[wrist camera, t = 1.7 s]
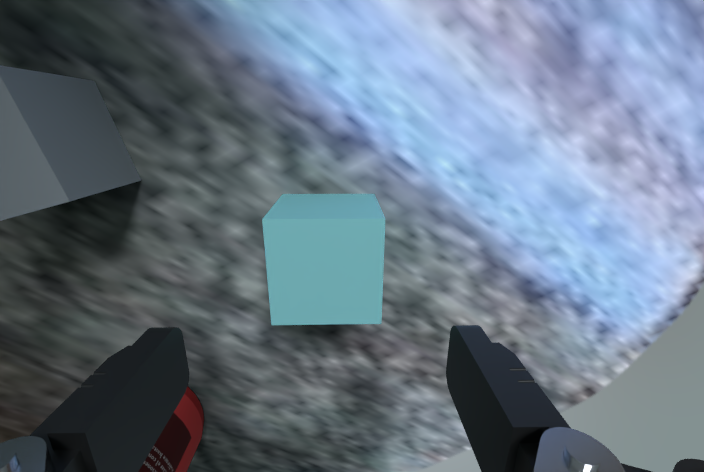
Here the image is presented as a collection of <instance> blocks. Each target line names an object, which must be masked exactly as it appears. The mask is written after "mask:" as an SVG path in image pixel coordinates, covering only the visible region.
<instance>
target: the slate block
mask: <svg viewBox="0 0 704 472" xmlns="http://www.w3.org/2000/svg"><path fill="white" fill-rule="evenodd" d="M138 181H141V178H140V176H139V174H138V172H137V170H136V168H135V166H134V164H133V161H132V159H131V157H130V155H129V153H128V151H127V149H126V147H125V144H124V142H123V140H122V138H121V136H120V134H119V132H118V130H117V128H116V125H115V123H114V121H113V119H112V117H111V115H110V113H109V111H108V108H107V106H106V104H105V102H104V100H103V98H102V96H101V94H100V92H99V89H98V87H97V85H96V83H95V81H93V80H87V79H81V78H75V77H69V76H63V75H57V74H51V73H44V72H38V71H32V70H26V69H20V68H14V67H8V66H1V65H0V221H1V220H5V219H8V218H12V217H16V216H19V215H23V214H26V213H30V212H34V211H37V210H41V209H45V208H48V207H52V206H55V205H59V204H63V203H66V202H70V201H73V200H77V199H80V198H83V197H87V196H90V195H94V194H97V193H100V192H104V191H107V190H111V189H114V188H117V187H121V186H124V185H128V184H131V183H134V182H138Z"/></svg>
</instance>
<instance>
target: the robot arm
mask: <svg viewBox="0 0 704 472" xmlns="http://www.w3.org/2000/svg"><path fill="white" fill-rule="evenodd" d="M446 377H447V384H448V388H449V391H450V394H451V397H452V399H453V402H454V404H455V407H456V409H457V412H458V414H459V417H460V419H461V422H462V424H463V427H464V429H465V432H466V434H467V437H468V439H469V441H470V444H471V446H472V449H473V451H474V454H475V456H476V459H477V461H478V464H479V466H480V469H481V471H482V472H651V471H648V470H644V469H640V468H636V467H632V466H628V465H625V464H622V463H620V461H619V460H618V459H617V457H616V456H615V455H614V454H613V453H612V452H611V451H610V450H609V449H608V448H607V447H605V446H604V445H603V444H602V443H600V442H599V441H597V440H596V439H594V438H593V437H591V436H589V435H587V434H585V433H583V432H580V431H578V430H574V429H571V428H570V427H569V425H568V424H567V423H566V421H565V420H564V419H563V418H562V416H561V415H560V413H559V412H558V411H557V409H556V408H555V407H554V405H553V404H552V403H551V401H550V400H549V399H548V397H547V396H546V395H545V393H544V392H543V391H542V389H541V388H540V387H539V385H538V384H537V383H535V382H534V379H533V377H532V376H531V375H530V374H529V372H528V371H526V370H525V367H524V366H523V364H522V363H521V362H520V360H519V359H518V358H517V356H516V355H515V354H514V353H513V352H511V351H510V350H508V349H507V348H506V347H504V346H503V345H502V344H500V343H491V341H490V340H489V338H488V337H487V335H486V334H485V332H484V331H483V329H482V328H481V327H480V326H478V325H472V326H453V327H452V328H451V332H450V341H449V349H448V358H447V367H446ZM188 381H189V368H188V363H187V357H186V351H185V346H184V340H183V335H182V331H181V330H180V329H179V328H149V329H148V330H147V331H146V332H145V333H144V334H143V335H142V336H141V337H140V338H139V339H138V340H137V341H136V342H135V343H134V344H133V345H132V346H127V347H125V348H124V349H122V350H121V351H119V352H117V353H116V354H114V355H112V356H111V357H109V358H108V359H107V360H106V361H105V362H104V363H103V364H102V365H101V366H100V367H99V368H98V369H97V370H96V371H95V372H94V375H91V376H90V377H89V378H88V379H87V380H86V381H85V382H84V383H82V384H81V388H77V389H76V390H75V391H74V392H73V393H72V394H71V395H70V396H69V397H68V398H67V399H66V400H65V401H64V402H63V403H62V404H61V405H60V406H59V407H58V408H57V409H56V410H55V411H54V412H53V413H52V414H51V415H50V416H49V417H48V418H47V419H46V420H45V421H44V422H43V423H42V424H41V425H40V426H39V427H38V428H37V429H36V430H35V431H34V432H33V433H32V434H31V435H30V436H24V437H18V438H15V439H11V440H8V441H5V442H2V443H0V472H138V471H139V470H140V468H141V466H142V465H143V463H144V461H145V460H146V458H147V456H148V454H149V453H150V451H151V449H152V448H153V446H154V444H155V443H156V441H157V439H158V438H159V436H160V434H161V433H162V431H163V429H164V428H165V426H166V424H167V423H168V421H169V419H170V418H171V416H172V414H173V413H174V411H175V409H176V407H177V406H178V404H179V402H180V401H181V399H182V397H183V396H184V394H185V392H186V389H187V386H188ZM673 472H704V461H703V460H697V459H684V460H680V461H679V462H677V464H676V465H675V467H674V469H673Z"/></svg>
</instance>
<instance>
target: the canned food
mask: <svg viewBox="0 0 704 472" xmlns="http://www.w3.org/2000/svg"><path fill="white" fill-rule="evenodd" d="M203 423H204V414H203V409H202V406H201V403H200V401H199V400H198V398H197V396H196V395H195V394H194V393H193V392H192V390H191V389H190V388H189V387H188V386H187V389H186V392H185V394H184V396H183V397H182V399H181V401H180V402H179V404H178V406H177V407H176V409H175V411H174V413H173V414H172V416H171V418H170V419H169V421H168V423H167V424H166V426H165V428H164V429H163V431H162V433H161V434H160V436H159V438H158V439H157V441H156V443H155V444H154V446H153V448H152V449H151V451H150V453H149V454H148V456H147V458H146V460H145V461H144V463H143V465H142V466H141V468H140V470H139V471H138V472H187V470H188V467H189V465H190V463H191V460H192V458H193V456H194V454H195V451H196V449H197V447H198V445H199V442H200V440H201V438H202V431H203Z"/></svg>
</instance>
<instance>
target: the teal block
mask: <svg viewBox="0 0 704 472" xmlns="http://www.w3.org/2000/svg"><path fill="white" fill-rule="evenodd" d="M262 222H263V234H264V245H265V257H266V268H267V279H268V291H269V302H270V314H271V325H327V324H381V319H382V292H383V265H384V239H385V217H384V215H383V213H382V210H381V208H380V206H379V203H378V201H377V199H376V197H375V194H282V196H281V197H280V198H279V199H278V201H277V202H276V203H275V204H274V205H273V207H272V208H271V209H270V210H269V212H268V213H267V214H266V215H265V217H264V218H263V219H262Z"/></svg>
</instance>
